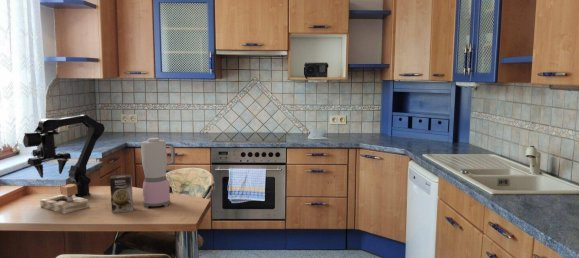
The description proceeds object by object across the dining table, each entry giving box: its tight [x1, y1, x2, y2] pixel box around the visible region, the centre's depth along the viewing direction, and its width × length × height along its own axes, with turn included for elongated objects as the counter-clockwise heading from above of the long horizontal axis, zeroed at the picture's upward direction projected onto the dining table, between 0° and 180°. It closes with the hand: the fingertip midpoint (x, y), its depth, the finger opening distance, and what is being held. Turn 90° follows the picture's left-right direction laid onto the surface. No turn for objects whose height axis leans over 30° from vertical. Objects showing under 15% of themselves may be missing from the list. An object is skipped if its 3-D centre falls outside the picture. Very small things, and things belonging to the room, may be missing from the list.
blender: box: [139, 137, 176, 209], centre depth 216 cm, size 16×12×32 cm
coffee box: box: [109, 174, 134, 214], centre depth 210 cm, size 9×6×16 cm
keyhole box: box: [39, 194, 90, 215], centre depth 217 cm, size 20×12×4 cm, turn 57°
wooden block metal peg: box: [60, 183, 78, 203], centre depth 214 cm, size 5×5×11 cm
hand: (51, 175), depth 225 cm, fingers open, 9 cm apart
